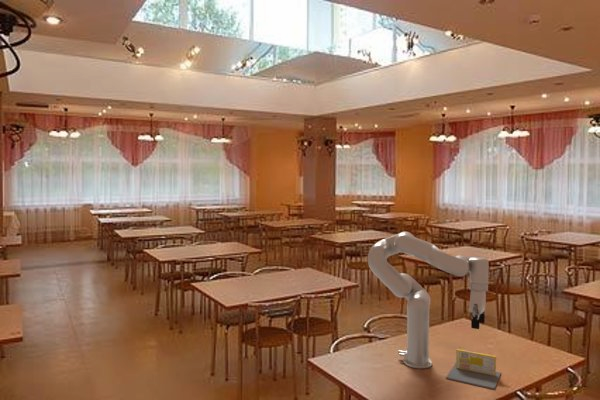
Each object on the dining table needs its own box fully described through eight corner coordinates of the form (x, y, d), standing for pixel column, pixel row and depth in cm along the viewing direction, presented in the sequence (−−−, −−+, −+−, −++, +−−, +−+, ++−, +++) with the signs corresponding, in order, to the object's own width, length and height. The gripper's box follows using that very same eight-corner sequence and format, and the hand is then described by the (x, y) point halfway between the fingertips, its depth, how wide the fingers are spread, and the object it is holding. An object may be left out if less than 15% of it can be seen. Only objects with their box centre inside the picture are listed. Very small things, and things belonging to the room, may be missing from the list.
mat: (445, 378, 195) (445, 377, 195) (455, 364, 210) (455, 363, 210) (494, 389, 185) (494, 388, 185) (500, 374, 200) (500, 372, 200)
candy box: (495, 374, 198) (496, 355, 197) (495, 376, 196) (495, 357, 196) (456, 366, 206) (457, 348, 206) (455, 368, 204) (455, 349, 204)
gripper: (474, 281, 210) (473, 318, 211) (464, 289, 195) (463, 329, 196) (492, 283, 206) (491, 321, 207) (483, 291, 191) (482, 332, 192)
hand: (477, 325), depth 201 cm, fingers open, 9 cm apart
